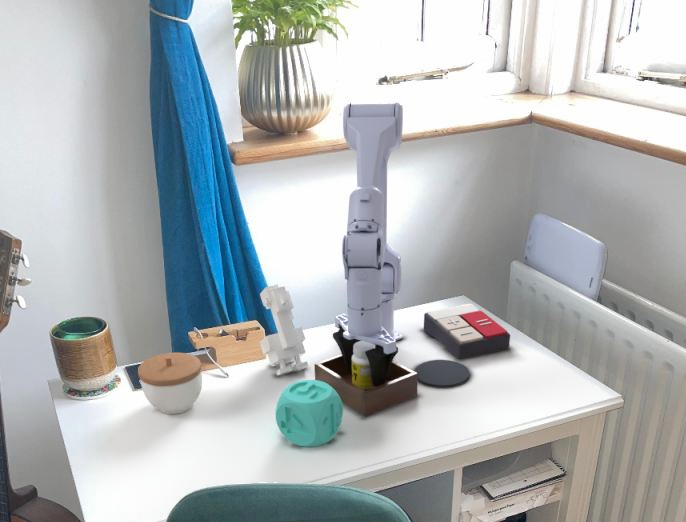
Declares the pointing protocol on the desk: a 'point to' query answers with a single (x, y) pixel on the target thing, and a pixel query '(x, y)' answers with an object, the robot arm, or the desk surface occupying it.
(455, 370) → the coaster
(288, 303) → the voxel character
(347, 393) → the box
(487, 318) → the calculator
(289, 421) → the decorative dice
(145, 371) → the trinket box
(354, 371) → the supplement bottle
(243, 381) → the desk surface
